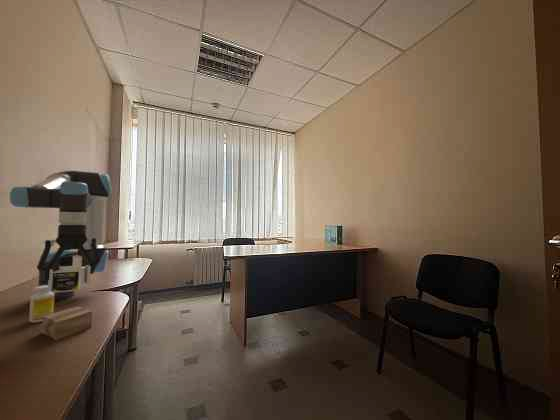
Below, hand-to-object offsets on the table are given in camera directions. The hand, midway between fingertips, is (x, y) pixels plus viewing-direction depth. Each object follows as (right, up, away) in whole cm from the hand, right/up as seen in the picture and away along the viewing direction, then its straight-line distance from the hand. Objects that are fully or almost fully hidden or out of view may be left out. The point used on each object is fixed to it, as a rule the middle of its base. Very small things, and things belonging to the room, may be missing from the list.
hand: (69, 285), depth 82 cm
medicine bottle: (0, -1, 0) cm, 1 cm away
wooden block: (0, -16, -1) cm, 16 cm away
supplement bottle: (-18, -16, +7) cm, 25 cm away
